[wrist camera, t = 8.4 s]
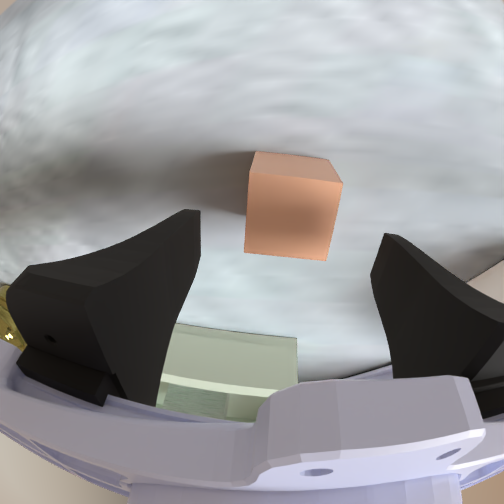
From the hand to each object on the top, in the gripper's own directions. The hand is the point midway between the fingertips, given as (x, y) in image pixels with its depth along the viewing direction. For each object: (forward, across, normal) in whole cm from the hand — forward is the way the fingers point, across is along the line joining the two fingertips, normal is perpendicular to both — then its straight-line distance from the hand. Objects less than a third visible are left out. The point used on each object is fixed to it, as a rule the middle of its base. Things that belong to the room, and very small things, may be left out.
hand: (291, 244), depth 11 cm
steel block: (+5, +5, +19) cm, 20 cm away
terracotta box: (+6, 0, 0) cm, 6 cm away
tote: (+6, +5, +20) cm, 21 cm away
